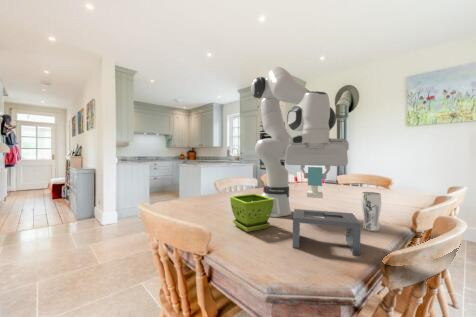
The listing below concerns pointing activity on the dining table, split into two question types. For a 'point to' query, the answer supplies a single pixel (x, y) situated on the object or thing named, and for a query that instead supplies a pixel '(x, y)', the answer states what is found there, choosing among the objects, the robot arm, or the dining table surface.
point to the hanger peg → (314, 182)
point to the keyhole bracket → (331, 220)
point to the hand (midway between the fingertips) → (314, 178)
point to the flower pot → (251, 211)
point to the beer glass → (371, 210)
